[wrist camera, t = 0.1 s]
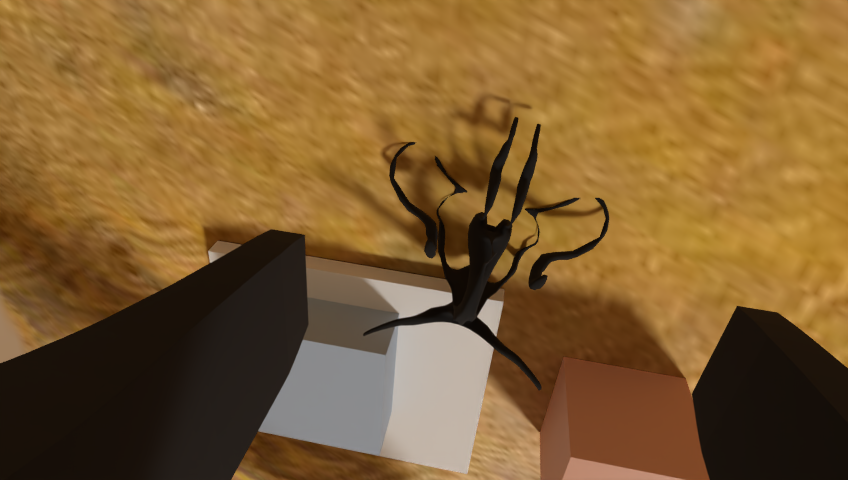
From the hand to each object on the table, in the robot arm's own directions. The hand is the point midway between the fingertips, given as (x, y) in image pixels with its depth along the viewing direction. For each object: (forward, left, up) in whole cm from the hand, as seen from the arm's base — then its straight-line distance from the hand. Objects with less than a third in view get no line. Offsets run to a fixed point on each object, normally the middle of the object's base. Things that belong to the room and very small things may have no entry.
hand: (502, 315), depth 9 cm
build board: (-12, +5, -10) cm, 17 cm away
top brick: (-12, -6, -10) cm, 17 cm away
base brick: (-11, +6, -9) cm, 16 cm away
